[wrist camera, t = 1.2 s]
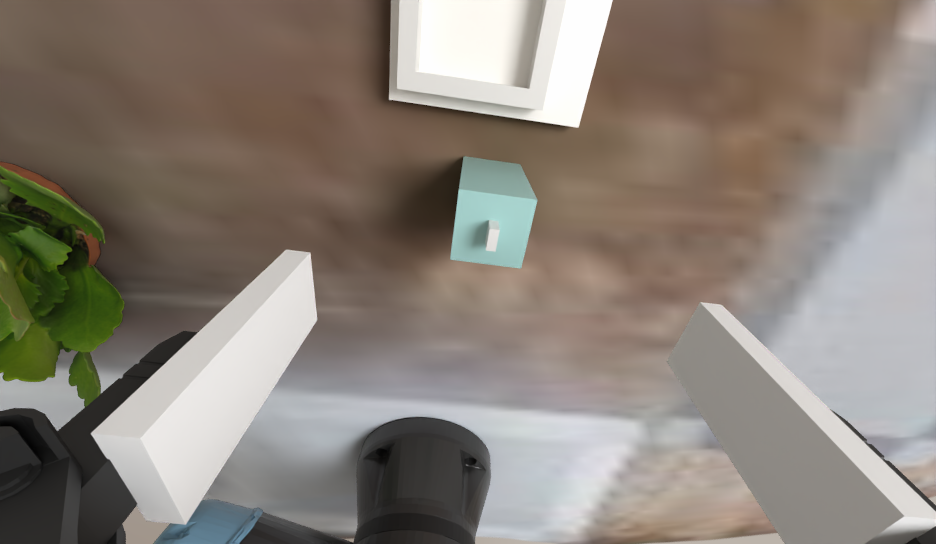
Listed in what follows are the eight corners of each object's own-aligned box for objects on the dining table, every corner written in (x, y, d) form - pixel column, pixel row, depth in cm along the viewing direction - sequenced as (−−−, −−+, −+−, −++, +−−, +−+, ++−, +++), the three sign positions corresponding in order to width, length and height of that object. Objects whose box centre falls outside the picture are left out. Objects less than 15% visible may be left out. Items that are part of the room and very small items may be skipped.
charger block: (509, 217, 27) (523, 279, 19) (456, 210, 27) (448, 269, 19) (520, 164, 25) (541, 207, 17) (463, 156, 25) (457, 196, 17)
